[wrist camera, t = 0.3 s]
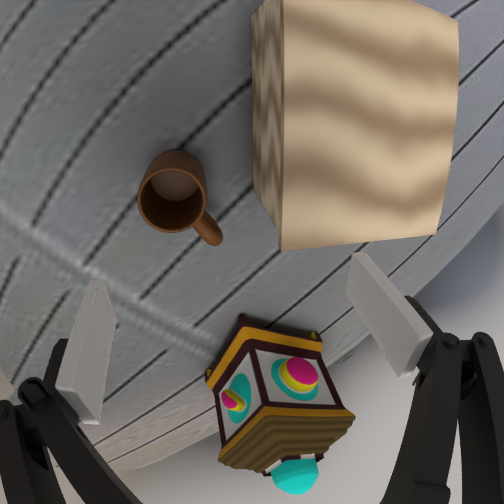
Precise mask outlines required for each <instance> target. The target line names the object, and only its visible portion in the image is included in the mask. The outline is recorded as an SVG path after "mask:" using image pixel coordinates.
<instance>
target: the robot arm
mask: <svg viewBox="0 0 504 504" xmlns="http://www.w3.org/2000/svg"><path fill="white" fill-rule="evenodd" d="M345 294H346V296H347V297H348V299H349V300H350V302H351V303H352V305H353V306H354V308H355V309H356V311H357V312H358V314H359V316H360V317H361V319H362V320H363V322H364V323H365V325H366V326H367V328H368V329H369V331H370V333H371V334H372V336H373V337H374V339H375V340H376V342H377V343H378V345H379V347H380V348H381V350H382V352H383V353H384V355H385V356H386V358H387V359H388V361H389V363H390V364H391V366H392V368H393V369H394V371H395V372H396V374H397V376H398V377H399V378H402V377H405V376H407V375H410V374H412V373H413V371H414V369H415V367H416V366H417V367H418V368H419V370H420V371H419V373H418V375H417V377H416V378H415V380H414V382H413V384H412V385H413V386H414V384H415V383H416V386H415V391H414V396H413V401H412V405H411V409H410V414H409V418H408V422H407V426H406V430H405V434H404V437H403V441H402V444H401V448H400V451H399V454H398V457H397V461H396V464H395V467H394V470H393V473H392V476H391V479H390V481H389V484H388V487H387V490H386V493H385V495H384V497H383V499H382V501H381V502H380V504H448V503H449V499H450V494H451V492H450V489H449V488H448V487H447V485H446V483H447V478H448V473H449V469H450V464H451V459H452V454H453V448H454V441H455V435H456V428H457V420H458V424H459V434H460V446H461V461H462V504H504V371H503V368H502V364H501V362H500V359H499V355H498V352H497V350H496V347H495V344H494V341H493V339H492V338H491V337H490V336H489V335H488V334H486V333H484V332H477V333H475V334H474V335H473V337H472V339H471V340H459V338H458V337H456V336H455V335H453V334H451V333H443V332H442V331H441V329H440V328H439V327H438V326H437V324H436V323H435V322H434V321H433V319H432V318H431V317H430V316H429V315H428V314H427V312H426V311H425V310H424V309H422V306H421V305H420V304H419V303H418V302H417V301H416V300H415V299H413V298H412V297H410V296H409V295H408V296H403V295H402V294H401V293H400V291H399V290H398V289H397V288H396V287H395V286H394V284H393V283H392V282H391V281H390V280H389V279H388V278H387V276H386V275H385V274H384V273H383V272H382V271H381V270H380V268H379V267H378V266H377V265H376V264H375V263H374V262H373V261H372V260H371V258H370V257H369V256H368V255H367V254H366V253H365V252H358V253H352V259H351V264H350V269H349V275H348V280H347V285H346V290H345ZM116 323H117V318H116V315H115V313H114V310H113V307H112V304H111V301H110V298H109V295H108V292H107V289H106V286H105V283H104V280H103V279H101V280H90V282H89V284H88V287H87V290H86V292H85V295H84V297H83V300H82V303H81V305H80V308H79V311H78V314H77V316H76V319H75V322H74V325H73V328H72V331H71V334H70V337H69V339H60V340H59V341H58V342H57V343H56V345H55V346H54V348H53V351H52V354H51V358H50V360H49V365H48V366H47V369H46V372H45V376H44V379H43V381H42V380H41V379H40V378H37V377H30V378H28V379H26V380H25V381H23V382H22V383H21V385H20V386H19V388H18V398H19V400H20V401H21V402H22V403H23V404H21V405H17V406H14V405H13V404H12V403H11V402H10V401H8V400H1V401H0V475H1V479H2V484H3V488H4V492H5V496H6V499H7V503H8V504H66V502H65V499H64V497H63V494H62V492H61V489H60V487H59V484H58V481H57V478H56V475H55V473H54V470H53V466H52V463H51V460H50V457H49V454H48V450H47V447H46V446H48V448H49V450H50V451H51V453H52V455H53V456H54V458H55V460H56V461H57V463H58V465H59V466H60V468H61V469H62V471H63V472H64V474H65V476H66V477H67V478H68V480H69V482H70V483H71V484H72V486H73V487H74V489H75V490H76V492H77V493H78V494H79V496H80V497H81V499H82V500H83V501H84V503H85V504H142V503H141V502H140V501H139V499H138V498H137V497H136V496H135V495H134V494H133V493H132V492H131V491H130V490H129V489H128V488H127V487H126V486H125V484H124V483H123V482H122V481H121V480H120V479H119V477H118V476H117V475H116V474H115V473H114V471H113V470H112V469H111V468H110V467H109V465H108V464H107V463H106V462H105V460H104V459H103V458H102V457H101V455H100V454H99V453H98V452H97V450H96V449H95V448H94V446H93V445H92V444H91V442H90V441H89V439H88V438H87V437H86V435H85V434H84V432H83V431H82V430H81V428H80V427H79V426H78V420H79V418H80V419H81V420H82V421H83V423H84V424H100V422H101V413H102V405H103V397H104V390H105V383H106V377H107V371H108V365H109V359H110V353H111V348H112V343H113V337H114V332H115V328H116Z"/></svg>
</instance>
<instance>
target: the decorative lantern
mask: <svg viewBox="0 0 504 504" xmlns="http://www.w3.org/2000/svg"><path fill="white" fill-rule="evenodd" d="M238 324H239V326H238V330H237V332H236V334H235V335H234V337H233V338H232V340H231V342H230V343H229V345H228V346H227V348H226V349H225V351H224V353H223V354H222V356H221V357H220V359H219V361H218V362H217V364H216V365H215V367H214V368H213V370H211V369H207V370H206V371H205V382H206V384H207V385H208V387H209V388H210V389H211V390H212V391H213V393H214V396H215V404H216V411H217V417H218V424H219V431H220V437H221V443H222V448H221V451H220V454H219V457H218V461H219V462H220V463H223V464H224V465H226V466H231V467H232V468H233V469H248V470H254V471H255V472H256V473H262V474H263V476H272V478H273V481H274V483H275V485H276V486H277V487H278V488H280V489H282V490H283V491H285V492H287V493H290V494H303V493H305V492H306V491H308V490H309V489H310V488H311V487H312V486H313V484H314V482H315V481H316V479H317V477H318V467H317V464H316V463H317V462H319V461H320V460H321V459H323V458H324V456H323V454H324V453H325V452H326V451H328V449H329V446H331V445H332V444H333V443H334V442H336V441H337V440H338V439H339V438H341V437H342V436H343V435H345V434H346V432H347V429H348V428H349V427H351V425H352V423H353V421H354V420H355V418H356V417H355V415H354V414H353V413H351V412H350V411H349V410H347V409H346V408H345V407H344V406H343V404H342V402H341V399H340V397H339V395H338V393H337V391H336V388H335V386H334V384H333V382H332V380H331V377H330V375H329V373H328V371H327V368H326V366H325V364H324V362H323V360H322V357H321V352H322V344H323V343H322V339H321V337H320V336H319V334H318V333H317V332H312V333H311V334H310V338H308V337H303V336H298V335H294V334H289V333H284V332H280V331H275V330H271V329H267V328H262V327H258V326H254V325H252V324H250V323H249V322H248V320H247V318H246V316H245V315H243V314H241V315H240V316H239V318H238Z"/></svg>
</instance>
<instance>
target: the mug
mask: <svg viewBox="0 0 504 504" xmlns="http://www.w3.org/2000/svg"><path fill="white" fill-rule="evenodd" d="M206 202H207V189H206V182H205V177H204V172H203V168H202V166H201V164H200V163H199V161H198V160H197V159H196V158H195V157H194V156H192V155H191V154H189V153H187V152H184V151H179V150H173V151H168V152H165V153H163V154H161V155H159V156H158V157H157V158H155V160H154V161H153V162H152V163H151V165H150V166H149V168H148V170H147V171H146V173H145V175H144V177H143V179H142V181H141V184H140V187H139V191H138V196H137V204H138V209H139V212H140V214H141V216H142V217H143V219H144V220H145V221H146V222H147V223H148V224H149V225H150V226H151V227H153V228H155V229H157V230H159V231H162V232H167V233H176V232H181V231H184V230H187V229H189V228H191V227H193V228H194V229H195V230H196V232H197V233H198V234H199V235H200V236H201V238H202V239H203V240H204V241H206V242H207V243H208V244H210V245H213V246H217V245H219V244H220V243H221V242H222V241H223V234H222V231H221V229H220V228H219V226H218V225H217V223H216V222H215V221H214V219H213V218H212V217H211V216H210V215H209V214H208V213H207V212H206V210H205V208H206Z"/></svg>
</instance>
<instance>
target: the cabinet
mask: <svg viewBox="0 0 504 504" xmlns="http://www.w3.org/2000/svg"><path fill="white" fill-rule="evenodd" d="M251 39H252V109H253V187H254V191H255V193H256V194H257V196H258V198H259V199H260V201H261V203H262V205H263V206H264V208H265V210H266V211H267V213H268V215H269V216H270V218H271V220H272V222H273V223H274V225H275V227H276V228H277V230H278V232H279V239H278V246H279V248H280V250H281V251H286V250H296V249H305V248H314V247H323V246H333V245H342V244H351V243H360V242H369V241H379V240H388V239H397V238H406V237H415V236H424V235H433V234H436V230H437V226H438V222H439V218H440V214H441V209H442V205H443V200H444V195H445V191H446V185H447V180H448V175H449V169H450V163H451V156H452V149H453V142H454V133H455V124H456V113H457V100H458V80H459V41H458V21H456V20H454V19H452V18H450V17H448V16H446V15H444V14H442V13H439V12H437V11H435V10H433V9H430V8H428V7H426V6H423V5H421V4H418V3H416V2H413V1H411V0H265V1H264V2H263V3H262V4H261V5H260V6H259V7H258V9H257V10H256V11H255V12H254V13H253V14H252V15H251Z"/></svg>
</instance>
